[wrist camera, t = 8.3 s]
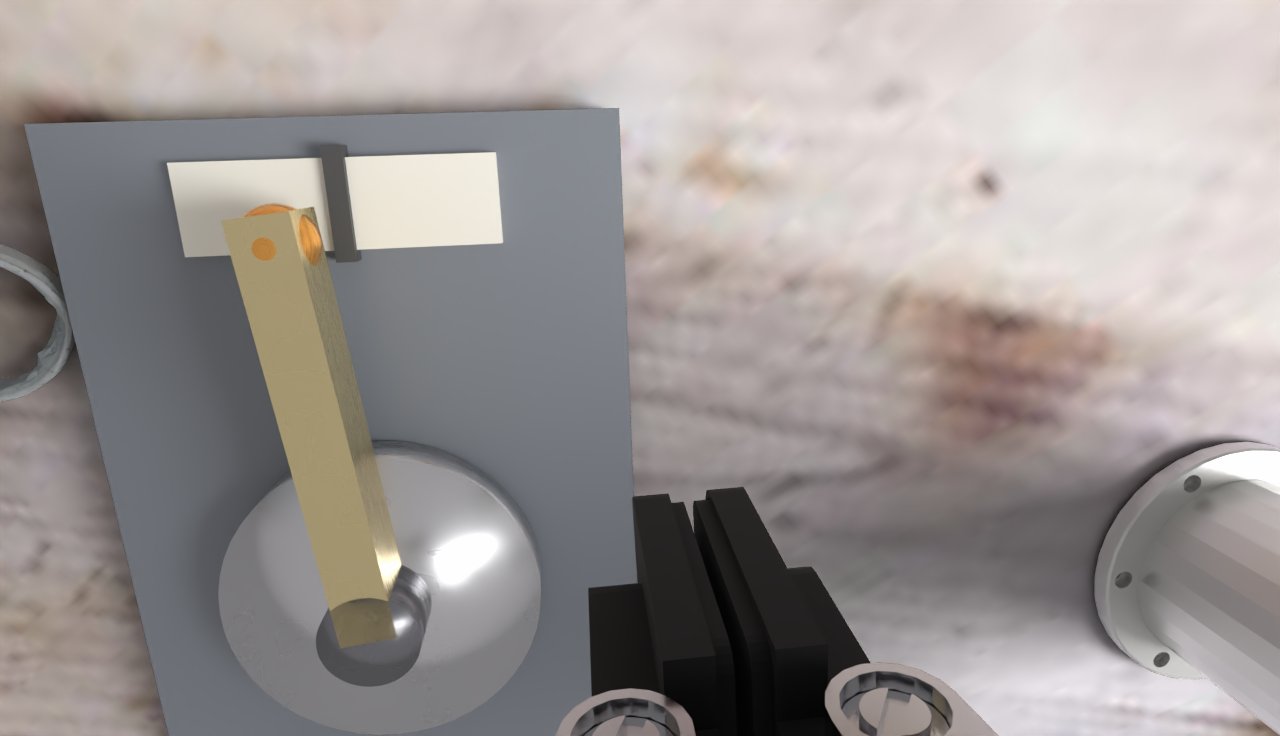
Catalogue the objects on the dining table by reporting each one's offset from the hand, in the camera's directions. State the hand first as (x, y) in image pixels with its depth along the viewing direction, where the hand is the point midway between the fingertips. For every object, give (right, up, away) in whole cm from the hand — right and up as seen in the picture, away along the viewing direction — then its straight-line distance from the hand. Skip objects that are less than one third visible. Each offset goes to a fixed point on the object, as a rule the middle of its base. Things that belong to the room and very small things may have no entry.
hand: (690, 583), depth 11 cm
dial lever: (-11, -1, +18) cm, 22 cm away
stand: (-11, -1, +21) cm, 23 cm away
